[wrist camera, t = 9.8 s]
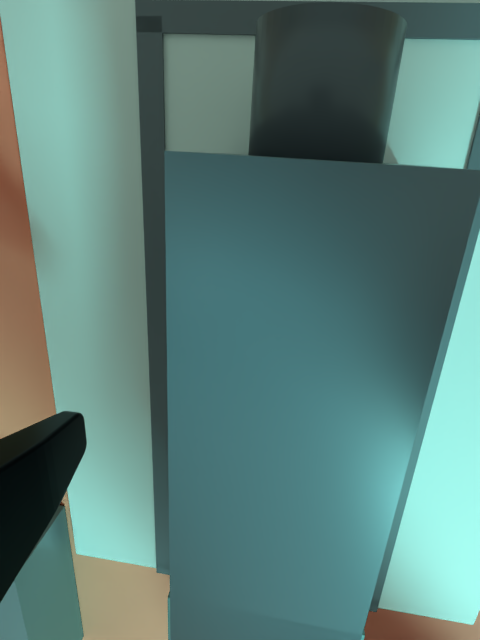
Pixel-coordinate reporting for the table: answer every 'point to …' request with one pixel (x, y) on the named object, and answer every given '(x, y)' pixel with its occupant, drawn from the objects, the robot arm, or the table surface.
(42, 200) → the paper sheet
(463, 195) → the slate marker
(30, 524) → the robot arm
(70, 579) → the button frame
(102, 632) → the table surface
